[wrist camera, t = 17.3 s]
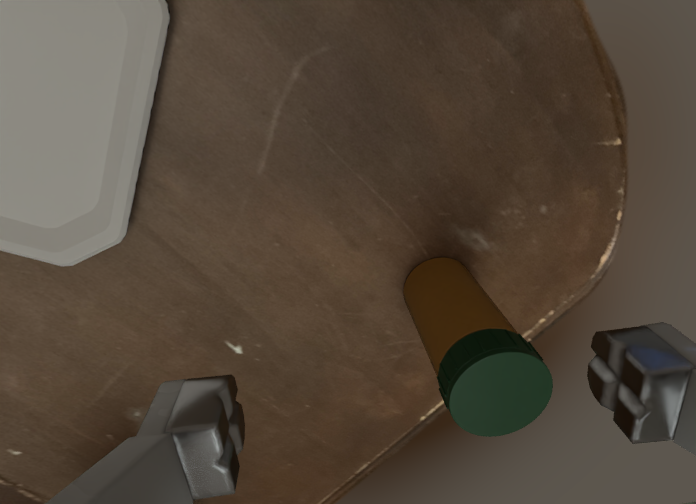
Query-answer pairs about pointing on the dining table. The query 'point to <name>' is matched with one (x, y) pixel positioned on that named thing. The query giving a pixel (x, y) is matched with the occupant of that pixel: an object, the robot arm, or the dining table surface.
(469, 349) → the lid
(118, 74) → the plate
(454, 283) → the jar
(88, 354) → the dining table surface
